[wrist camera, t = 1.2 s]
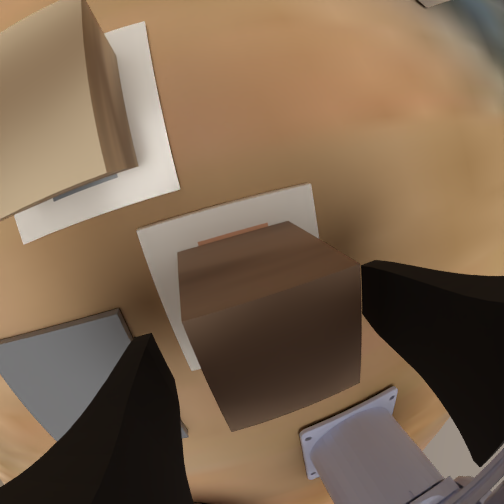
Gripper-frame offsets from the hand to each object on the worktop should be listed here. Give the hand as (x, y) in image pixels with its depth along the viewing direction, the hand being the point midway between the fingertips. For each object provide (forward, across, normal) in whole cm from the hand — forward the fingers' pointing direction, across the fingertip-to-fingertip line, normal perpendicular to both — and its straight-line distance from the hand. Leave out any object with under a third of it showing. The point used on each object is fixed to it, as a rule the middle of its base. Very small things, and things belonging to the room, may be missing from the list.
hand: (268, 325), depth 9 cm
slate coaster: (+4, +10, +4) cm, 11 cm away
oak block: (+3, +5, -8) cm, 10 cm away
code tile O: (+4, +5, -8) cm, 10 cm away
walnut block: (+3, 0, 0) cm, 3 cm away
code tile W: (+4, 0, 0) cm, 4 cm away
